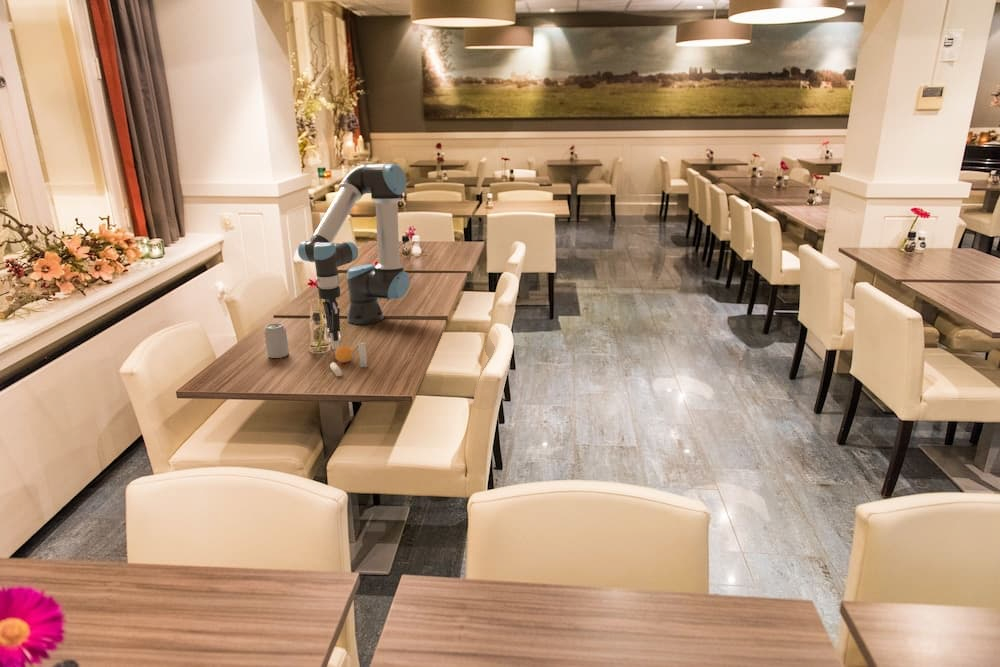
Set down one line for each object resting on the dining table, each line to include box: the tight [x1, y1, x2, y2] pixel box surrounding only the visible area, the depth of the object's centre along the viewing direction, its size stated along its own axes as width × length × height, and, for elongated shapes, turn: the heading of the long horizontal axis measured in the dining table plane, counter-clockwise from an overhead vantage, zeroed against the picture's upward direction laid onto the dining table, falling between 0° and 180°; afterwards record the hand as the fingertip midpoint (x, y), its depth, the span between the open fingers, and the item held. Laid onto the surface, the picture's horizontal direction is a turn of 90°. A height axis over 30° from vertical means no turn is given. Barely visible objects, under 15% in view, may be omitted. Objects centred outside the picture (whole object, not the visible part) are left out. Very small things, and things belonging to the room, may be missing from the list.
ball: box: [334, 345, 353, 364], centre depth 239 cm, size 6×6×6 cm
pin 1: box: [329, 361, 344, 378], centre depth 230 cm, size 2×2×8 cm
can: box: [263, 322, 290, 359], centre depth 246 cm, size 8×8×12 cm
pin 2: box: [357, 341, 368, 368], centre depth 234 cm, size 2×2×8 cm
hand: (335, 347), depth 248 cm, fingers closed
